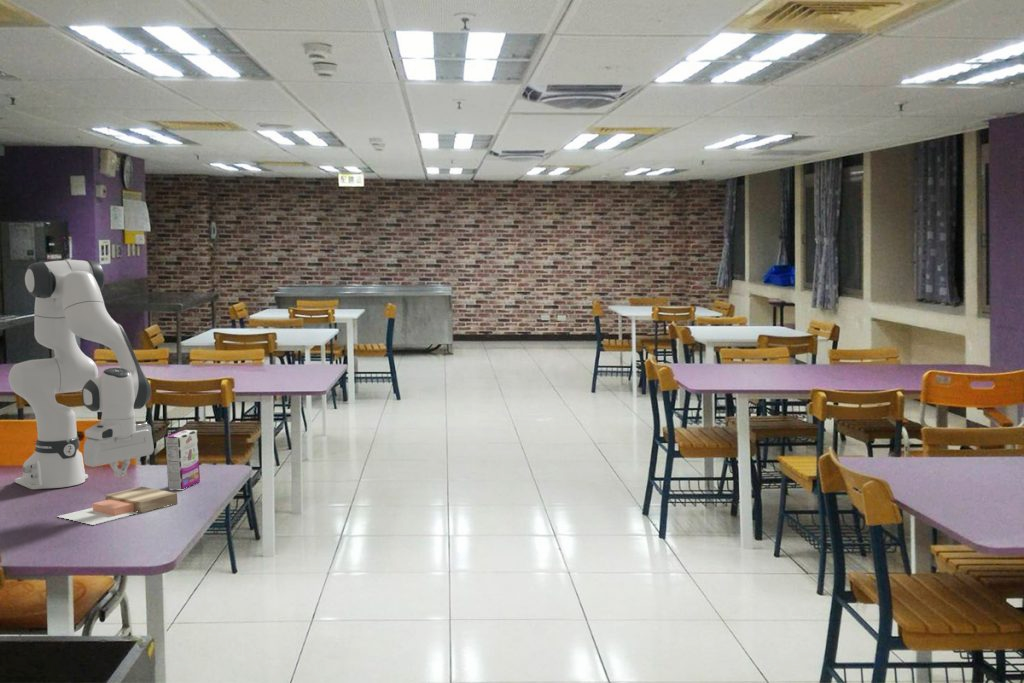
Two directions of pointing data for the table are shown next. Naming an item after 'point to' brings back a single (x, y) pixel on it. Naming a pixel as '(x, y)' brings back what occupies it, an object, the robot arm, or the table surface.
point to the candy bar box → (182, 459)
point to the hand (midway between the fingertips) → (120, 476)
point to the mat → (93, 516)
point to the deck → (144, 498)
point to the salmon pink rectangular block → (113, 507)
